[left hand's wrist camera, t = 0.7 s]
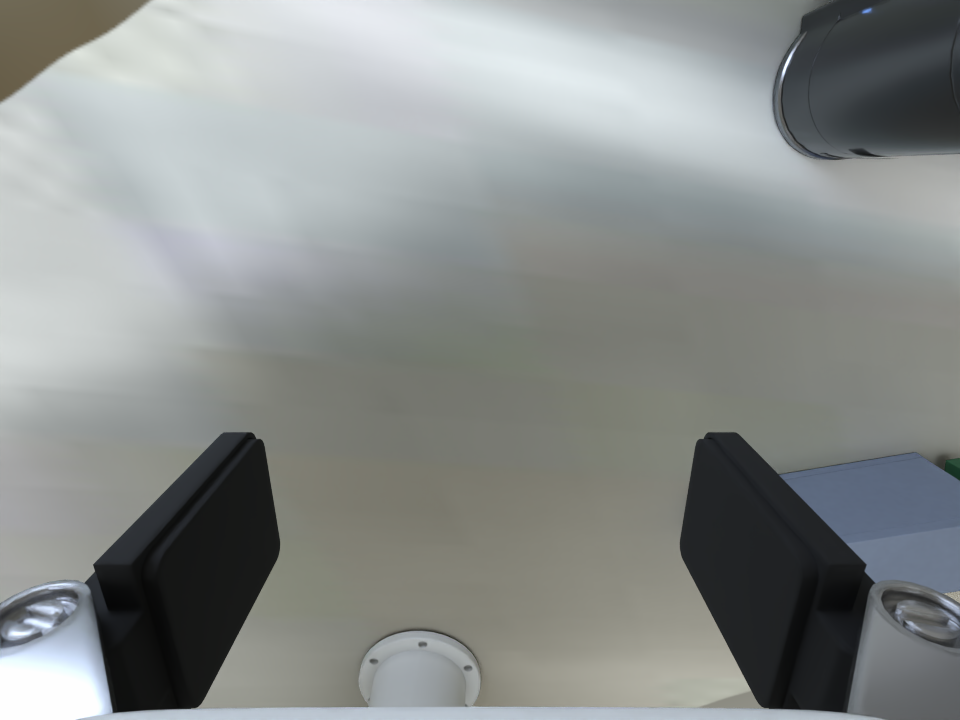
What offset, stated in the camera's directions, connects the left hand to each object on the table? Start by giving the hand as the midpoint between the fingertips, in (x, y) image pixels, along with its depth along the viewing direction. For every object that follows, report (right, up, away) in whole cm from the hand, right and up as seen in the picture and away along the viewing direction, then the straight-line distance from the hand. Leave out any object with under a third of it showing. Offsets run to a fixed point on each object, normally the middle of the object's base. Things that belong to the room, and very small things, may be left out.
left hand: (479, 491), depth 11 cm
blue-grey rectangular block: (+29, -10, +36) cm, 47 cm away
